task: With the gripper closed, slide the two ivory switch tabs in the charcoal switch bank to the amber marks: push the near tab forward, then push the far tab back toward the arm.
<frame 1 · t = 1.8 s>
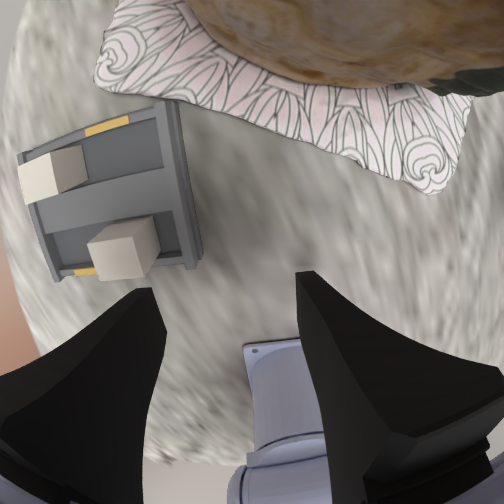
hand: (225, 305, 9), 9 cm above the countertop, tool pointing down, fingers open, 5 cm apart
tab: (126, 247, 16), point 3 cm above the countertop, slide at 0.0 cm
switch bank: (107, 196, 17), on the countertop
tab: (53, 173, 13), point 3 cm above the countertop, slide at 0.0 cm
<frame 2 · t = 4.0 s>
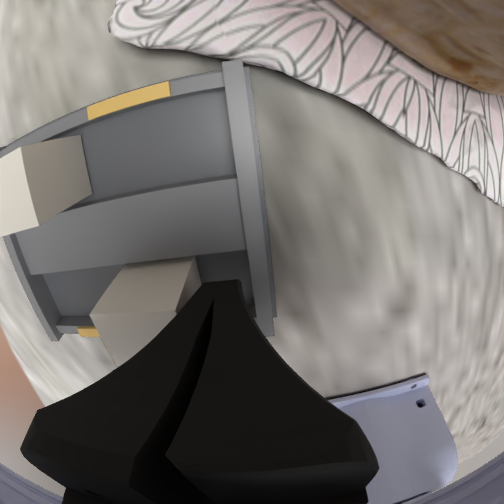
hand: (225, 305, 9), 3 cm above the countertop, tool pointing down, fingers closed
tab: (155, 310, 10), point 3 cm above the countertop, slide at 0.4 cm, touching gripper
switch bank: (123, 219, 11), on the countertop
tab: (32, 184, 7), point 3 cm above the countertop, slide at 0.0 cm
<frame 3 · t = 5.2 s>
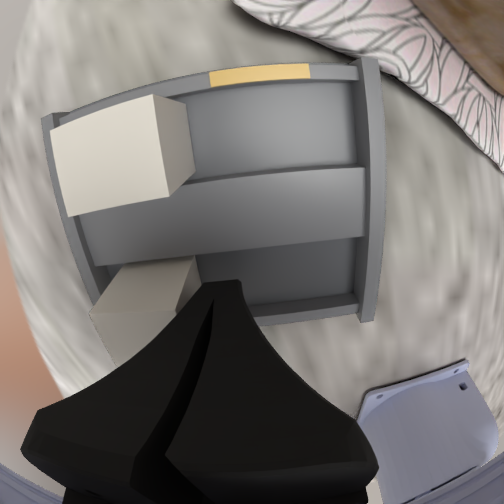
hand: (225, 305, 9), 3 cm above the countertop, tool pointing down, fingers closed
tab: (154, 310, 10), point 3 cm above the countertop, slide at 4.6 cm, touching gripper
switch bank: (219, 203, 11), on the countertop
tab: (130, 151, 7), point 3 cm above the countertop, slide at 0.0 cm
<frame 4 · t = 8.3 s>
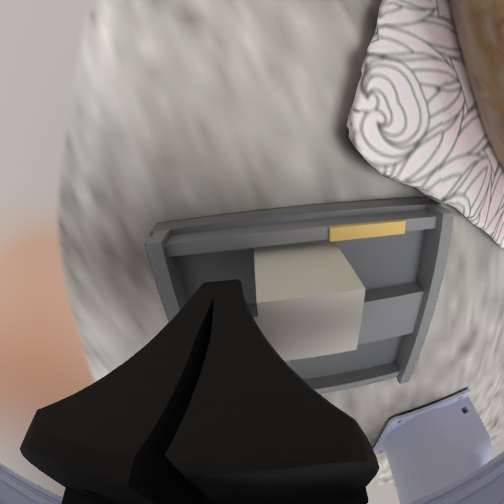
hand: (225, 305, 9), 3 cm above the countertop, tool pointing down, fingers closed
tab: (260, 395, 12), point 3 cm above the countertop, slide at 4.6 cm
switch bank: (307, 307, 13), on the countertop
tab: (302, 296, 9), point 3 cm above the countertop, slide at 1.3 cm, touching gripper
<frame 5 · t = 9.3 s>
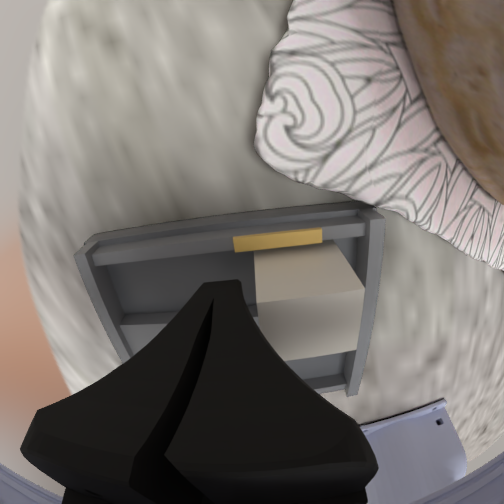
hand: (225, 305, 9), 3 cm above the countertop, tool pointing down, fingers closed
switch bank: (239, 315, 13), on the countertop
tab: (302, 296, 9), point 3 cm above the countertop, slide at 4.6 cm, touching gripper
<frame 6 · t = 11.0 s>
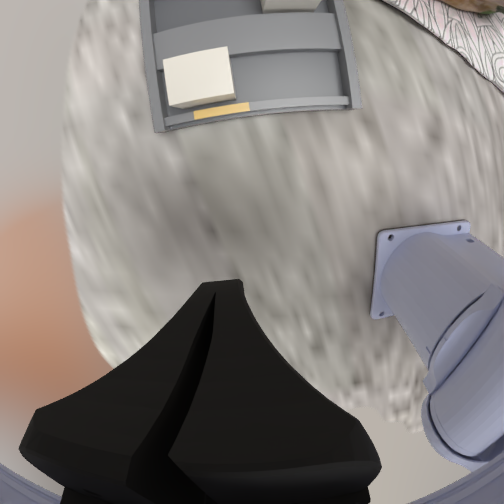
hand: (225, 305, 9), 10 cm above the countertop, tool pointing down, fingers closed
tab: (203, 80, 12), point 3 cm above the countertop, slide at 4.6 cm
switch bank: (247, 41, 13), on the countertop
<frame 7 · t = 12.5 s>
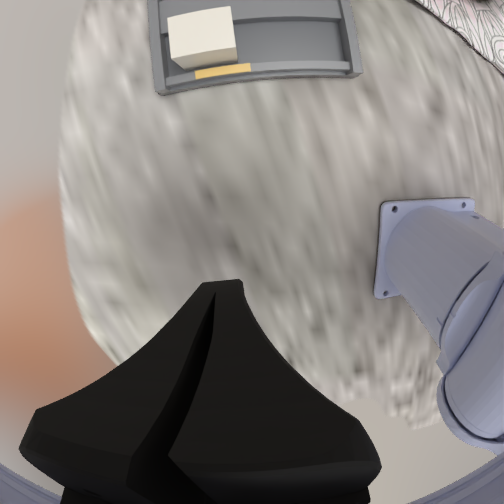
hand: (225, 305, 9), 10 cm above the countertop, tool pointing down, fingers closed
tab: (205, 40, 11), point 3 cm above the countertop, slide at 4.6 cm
switch bank: (249, 12, 13), on the countertop
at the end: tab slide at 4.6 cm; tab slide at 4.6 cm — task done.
